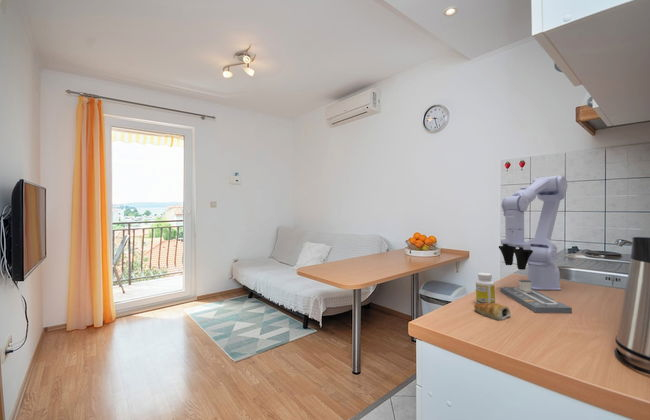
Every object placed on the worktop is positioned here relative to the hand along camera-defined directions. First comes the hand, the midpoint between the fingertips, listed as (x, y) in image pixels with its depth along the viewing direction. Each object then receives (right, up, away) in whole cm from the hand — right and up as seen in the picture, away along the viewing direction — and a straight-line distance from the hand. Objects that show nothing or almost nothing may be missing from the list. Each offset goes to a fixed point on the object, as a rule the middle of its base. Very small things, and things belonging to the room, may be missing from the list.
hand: (515, 267), depth 108 cm
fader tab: (+1, -8, -4) cm, 9 cm away
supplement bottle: (-16, -10, -9) cm, 21 cm away
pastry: (-19, -11, -19) cm, 29 cm away
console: (+1, -10, -8) cm, 13 cm away
